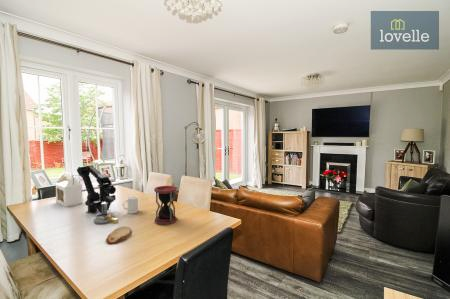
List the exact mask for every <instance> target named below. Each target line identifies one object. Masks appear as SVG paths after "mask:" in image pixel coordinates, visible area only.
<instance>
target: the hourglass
mask: <svg viewBox="0 0 450 299" xmlns="http://www.w3.org/2000/svg"><path fill="white" fill-rule="evenodd" d="M177 190H178V188H177V186H173V185H160V186H156V187H154V192H155V202H156V205H157V209H156V210H155V218H154V224H155V225H157V226H168V225H172V224H175V223H176V222H177V221H178V219H177V216H176V206H175V204H174V201H175V199H176V191H177ZM158 199H159V201H160V202H161V203H159V201H158ZM171 206H172V207H173V209H172V208H171ZM176 220H177V221H176Z"/></svg>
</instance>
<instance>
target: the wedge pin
mask: <svg viewBox="0 0 450 299" xmlns="http://www.w3.org/2000/svg"><path fill="white" fill-rule="evenodd" d="M107 204H108V203H107V202H104V203H101V205H103V206H102V212H101V213H104V212H105V213H108V210H107ZM101 213H100V214H101Z"/></svg>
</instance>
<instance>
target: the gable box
mask: <svg viewBox="0 0 450 299" xmlns="http://www.w3.org/2000/svg"><path fill="white" fill-rule="evenodd" d="M74 176H75V174H73V173H70V172H68V171H67V172H66V171H64V174H62V175H61V176H60V178H59V179H58V180H57V181H56V183H55V202H56V204H59V205H61V206H63V207H65V208H68V207H72V206H77V205H79V204H80V205H81V204H83V185H82V183H81V182H79V180H78V179H77V177H74ZM67 206H68V207H67Z"/></svg>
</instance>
